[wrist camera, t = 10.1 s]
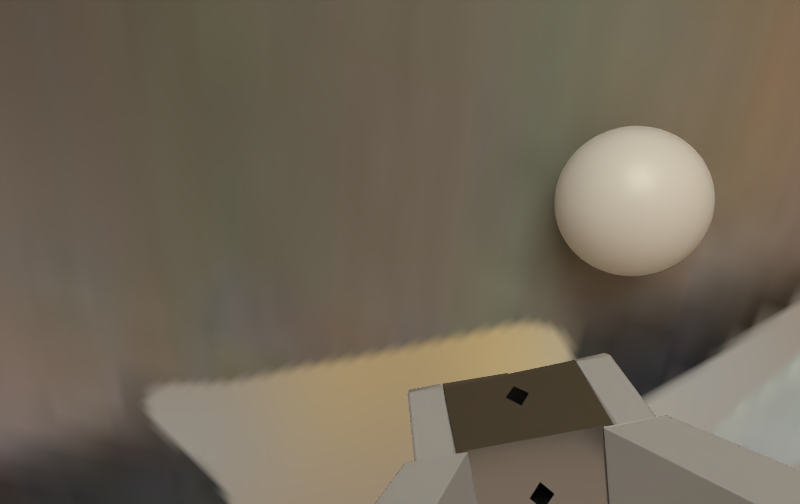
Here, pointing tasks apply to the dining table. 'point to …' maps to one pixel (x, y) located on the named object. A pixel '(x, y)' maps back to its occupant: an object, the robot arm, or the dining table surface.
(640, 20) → the dining table surface
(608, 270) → the cue ball
